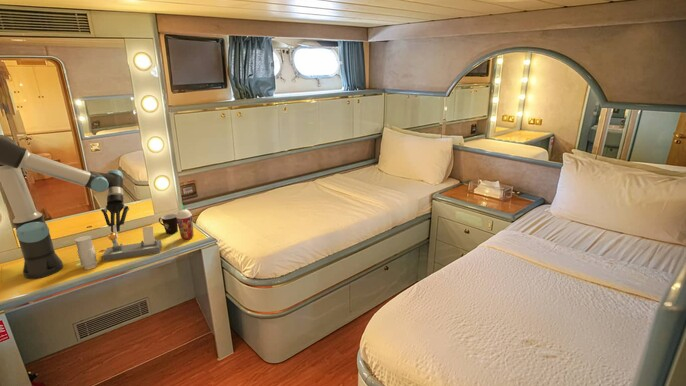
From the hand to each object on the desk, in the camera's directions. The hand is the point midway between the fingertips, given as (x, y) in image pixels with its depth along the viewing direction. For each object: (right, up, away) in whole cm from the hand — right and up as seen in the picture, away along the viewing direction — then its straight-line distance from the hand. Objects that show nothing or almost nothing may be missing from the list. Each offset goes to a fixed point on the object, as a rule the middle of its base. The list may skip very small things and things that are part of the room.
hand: (115, 237), depth 193 cm
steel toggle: (-1, -6, +3) cm, 7 cm away
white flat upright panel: (+13, -5, +8) cm, 16 cm away
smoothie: (+27, -3, +23) cm, 36 cm away
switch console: (+6, -9, +6) cm, 12 cm away
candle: (-8, -14, -7) cm, 17 cm away
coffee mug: (+13, 0, +33) cm, 36 cm away
